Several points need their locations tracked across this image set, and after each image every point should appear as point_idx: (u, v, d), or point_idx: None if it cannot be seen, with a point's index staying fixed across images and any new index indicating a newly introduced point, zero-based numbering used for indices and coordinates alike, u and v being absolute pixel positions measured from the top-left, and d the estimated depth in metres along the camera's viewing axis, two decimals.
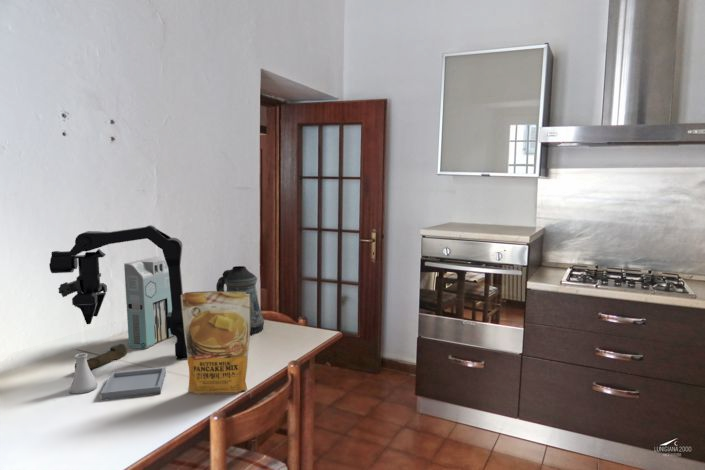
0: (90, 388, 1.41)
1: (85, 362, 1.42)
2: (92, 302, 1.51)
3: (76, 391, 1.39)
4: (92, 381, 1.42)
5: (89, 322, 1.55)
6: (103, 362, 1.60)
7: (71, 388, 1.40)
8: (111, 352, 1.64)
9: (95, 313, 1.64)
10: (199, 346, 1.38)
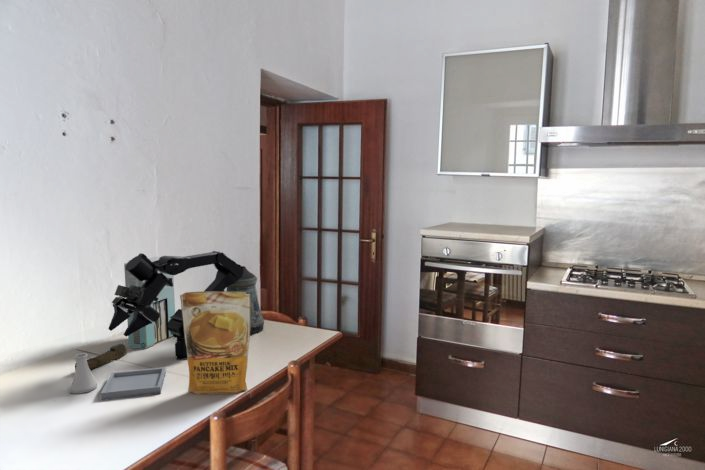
0: (90, 388, 1.41)
1: (85, 362, 1.42)
2: (156, 320, 1.49)
3: (76, 391, 1.39)
4: (92, 381, 1.42)
5: (127, 334, 1.47)
6: (103, 362, 1.60)
7: (71, 388, 1.40)
8: (111, 352, 1.64)
9: (112, 327, 1.53)
10: (199, 346, 1.38)
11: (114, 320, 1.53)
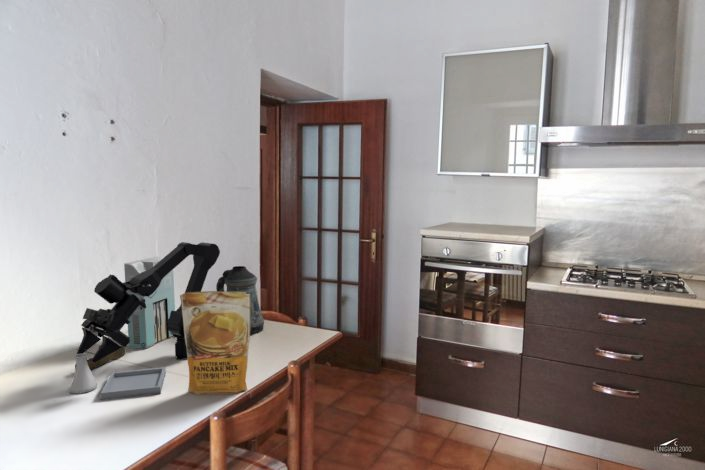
0: (90, 388, 1.41)
1: (85, 362, 1.42)
2: (126, 345, 1.42)
3: (76, 391, 1.39)
4: (92, 381, 1.42)
5: (95, 360, 1.40)
6: (103, 362, 1.60)
7: (71, 388, 1.40)
8: None
9: (81, 352, 1.46)
10: (199, 346, 1.38)
11: (83, 344, 1.47)
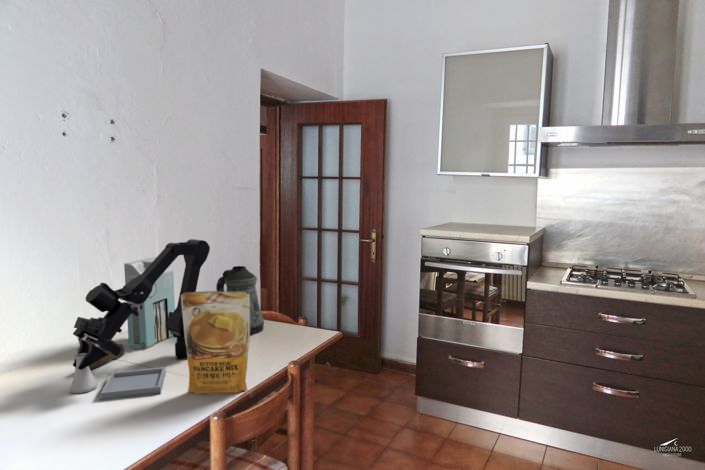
0: (90, 388, 1.41)
1: None
2: (117, 354, 1.40)
3: (76, 391, 1.39)
4: (92, 381, 1.42)
5: (82, 368, 1.40)
6: (103, 362, 1.60)
7: (71, 388, 1.40)
8: (110, 352, 1.64)
9: None
10: (199, 346, 1.38)
11: None
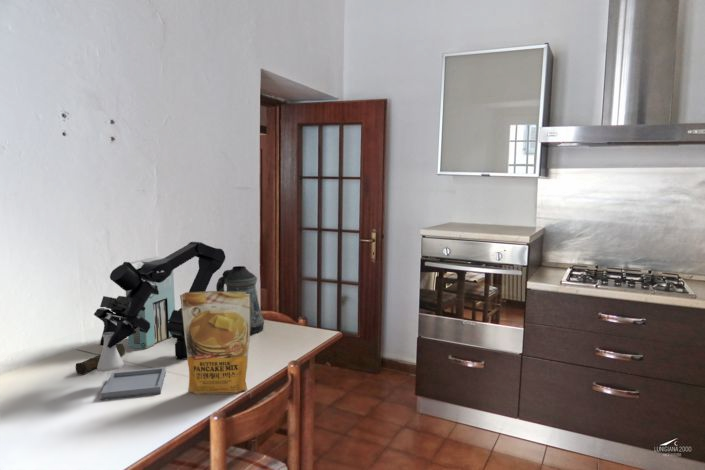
0: (119, 365, 1.43)
1: None
2: (147, 331, 1.43)
3: (106, 369, 1.41)
4: (120, 359, 1.44)
5: (111, 346, 1.42)
6: None
7: (100, 366, 1.41)
8: None
9: (103, 342, 1.44)
10: (199, 346, 1.38)
11: None
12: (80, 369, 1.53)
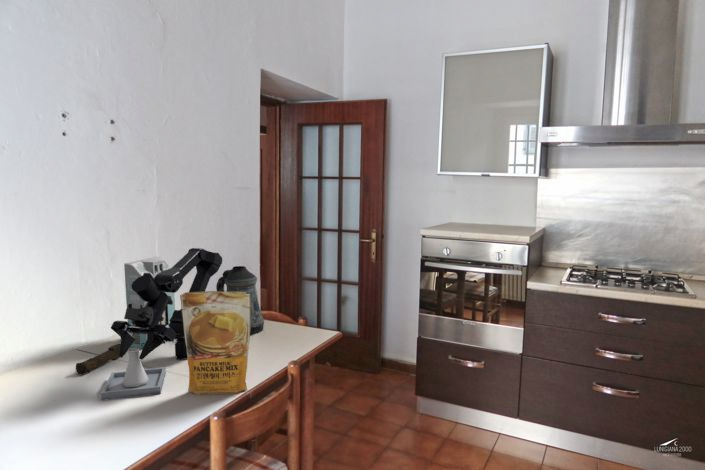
0: (146, 380, 1.44)
1: (138, 356, 1.44)
2: (173, 339, 1.46)
3: (134, 385, 1.41)
4: (145, 374, 1.45)
5: (143, 357, 1.42)
6: (103, 362, 1.60)
7: (128, 383, 1.41)
8: (110, 352, 1.64)
9: (122, 353, 1.44)
10: (199, 346, 1.38)
11: (124, 346, 1.44)
12: (80, 369, 1.53)
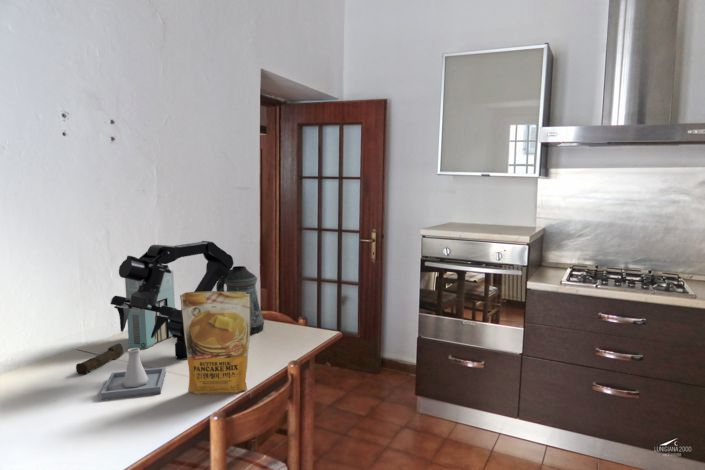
0: (146, 380, 1.44)
1: (138, 356, 1.44)
2: None
3: (134, 385, 1.41)
4: (145, 374, 1.45)
5: (153, 336, 1.54)
6: (103, 362, 1.60)
7: (128, 383, 1.41)
8: (110, 352, 1.64)
9: (123, 328, 1.53)
10: (199, 346, 1.38)
11: (123, 321, 1.53)
12: (81, 369, 1.53)
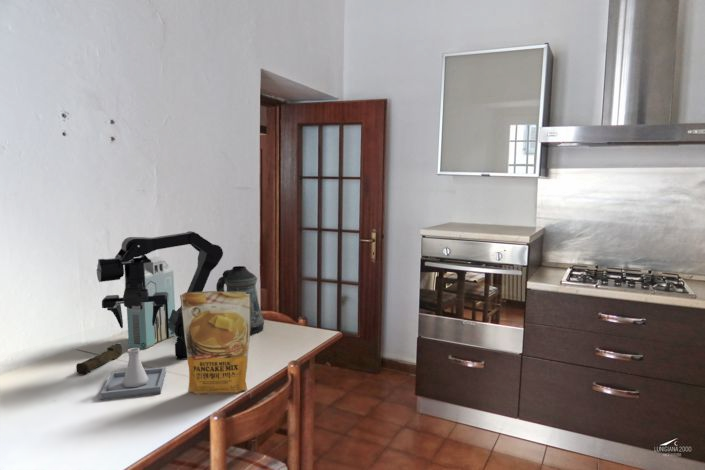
0: (146, 380, 1.44)
1: (138, 356, 1.44)
2: None
3: (134, 385, 1.41)
4: (145, 374, 1.45)
5: (154, 323, 1.60)
6: (103, 362, 1.60)
7: (128, 383, 1.41)
8: (109, 352, 1.64)
9: (122, 324, 1.57)
10: (199, 346, 1.38)
11: (120, 319, 1.56)
12: (81, 369, 1.53)
